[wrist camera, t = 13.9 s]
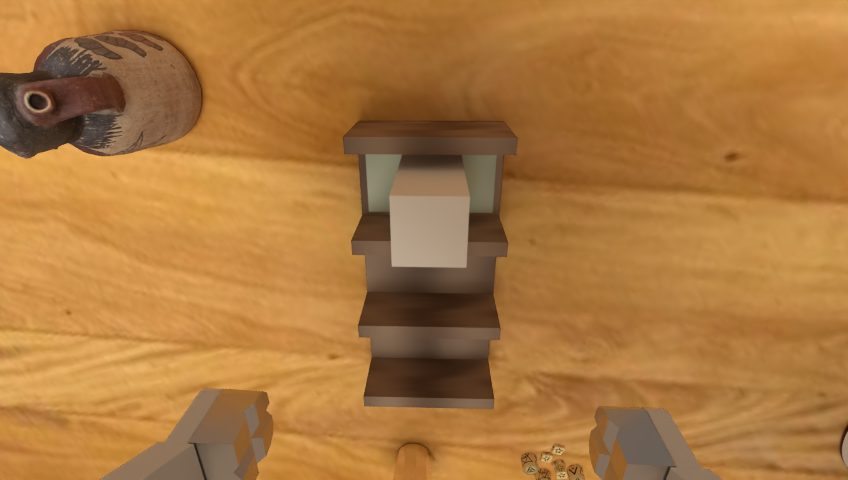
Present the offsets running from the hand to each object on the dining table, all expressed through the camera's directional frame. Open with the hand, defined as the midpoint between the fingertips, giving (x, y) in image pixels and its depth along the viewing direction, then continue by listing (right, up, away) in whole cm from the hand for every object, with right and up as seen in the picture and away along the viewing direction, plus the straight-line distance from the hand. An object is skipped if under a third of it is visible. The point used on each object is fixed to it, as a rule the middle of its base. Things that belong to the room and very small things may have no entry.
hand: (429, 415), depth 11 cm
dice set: (+13, -18, +34) cm, 40 cm away
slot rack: (0, +3, +23) cm, 24 cm away
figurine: (-19, +15, +19) cm, 30 cm away
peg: (0, +9, +20) cm, 22 cm away
